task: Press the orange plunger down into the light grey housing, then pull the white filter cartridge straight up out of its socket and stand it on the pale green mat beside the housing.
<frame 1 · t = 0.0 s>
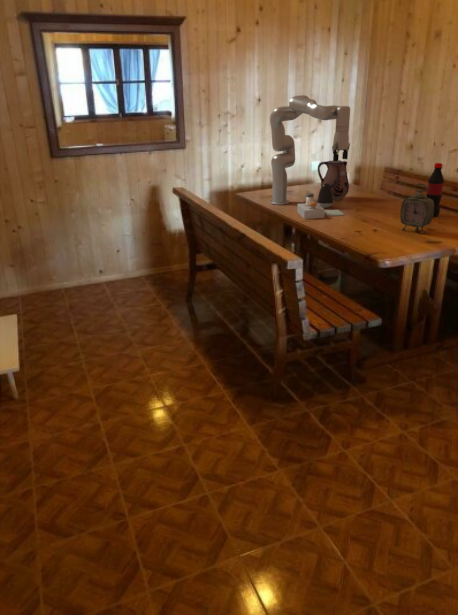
hand: (340, 160, 295), 31 cm above the table, tool pointing down, fingers open, 9 cm apart
mat: (333, 213, 306), on the table
cola bottle: (431, 216, 295), on the table
cartridge: (309, 213, 308), resting in housing
ceramic pitcher: (332, 199, 343), on the table
housing: (310, 214, 305), on the table
plunger: (312, 207, 298), point 6 cm above the table, slide at 0.0 cm
pump dispenser: (325, 207, 322), on the table
tabletop clock: (415, 231, 267), on the table
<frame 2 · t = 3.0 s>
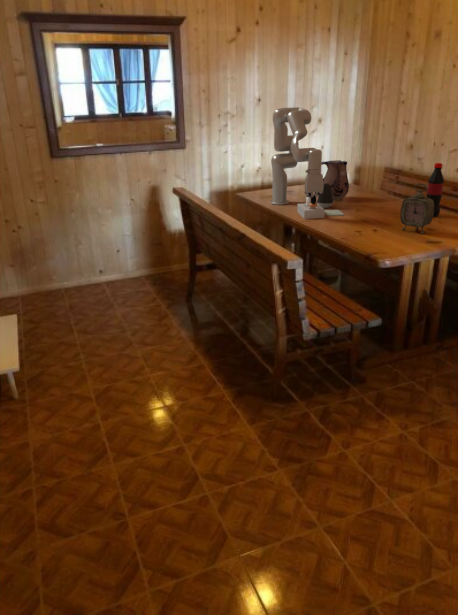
hand: (313, 203, 297), 8 cm above the table, tool pointing down, fingers closed
plunger: (312, 208, 299), point 5 cm above the table, slide at 0.6 cm, touching gripper
everything else where it was.
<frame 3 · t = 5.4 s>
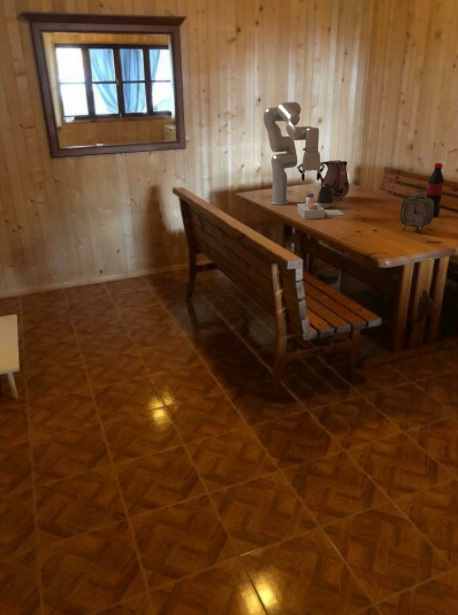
hand: (310, 180, 300), 20 cm above the table, tool pointing down, fingers open, 8 cm apart
plunger: (312, 210, 299), point 4 cm above the table, slide at 1.7 cm
everything else where it was.
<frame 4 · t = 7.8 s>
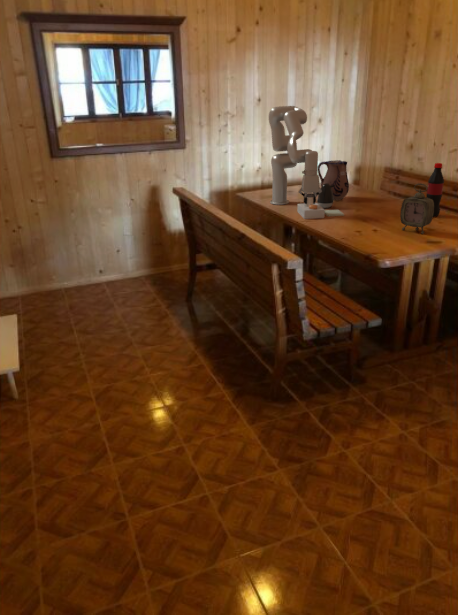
hand: (309, 203, 305), 6 cm above the table, tool pointing down, fingers closed on cartridge, 4 cm apart
cartridge: (309, 213, 308), resting in housing, touching gripper
everything else where it was.
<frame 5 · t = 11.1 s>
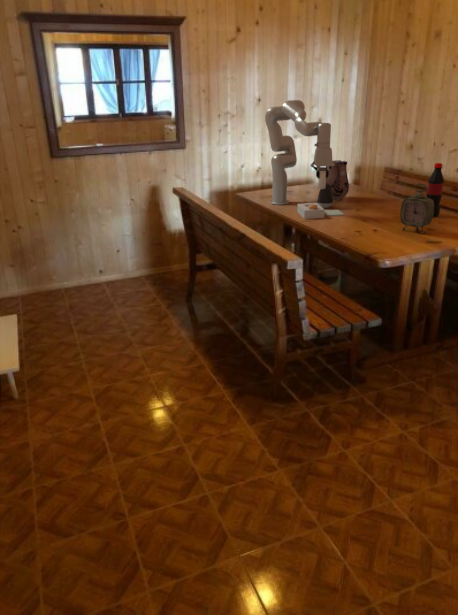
hand: (322, 177, 298), 22 cm above the table, tool pointing down, fingers closed on cartridge, 4 cm apart
cartridge: (321, 188, 300), point 15 cm above the table, touching gripper
everything else where it was.
when the fingers open (8 cm above the table, at t = 14.4 s): cartridge stays where it is, resting on mat.
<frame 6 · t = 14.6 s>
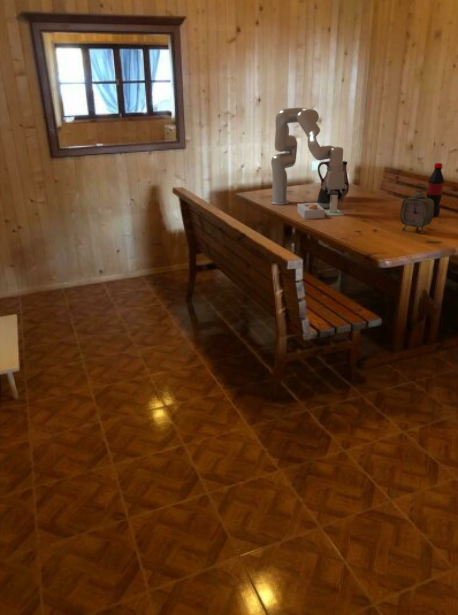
hand: (333, 199, 303), 9 cm above the table, tool pointing down, fingers open, 6 cm apart
cartridge: (333, 212, 306), point 1 cm above the table, touching mat
everything else where it was.
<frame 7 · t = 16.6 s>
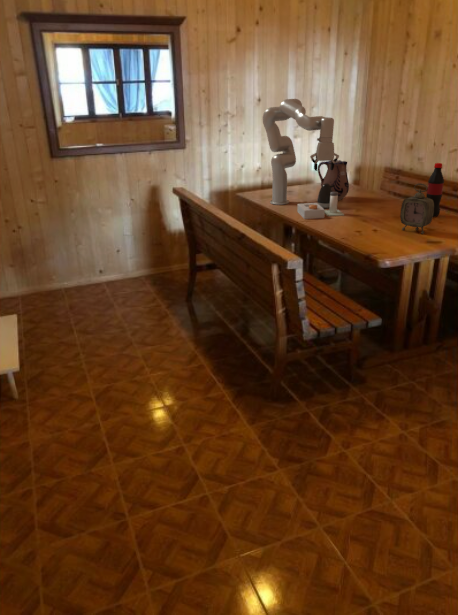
hand: (323, 170, 301), 25 cm above the table, tool pointing down, fingers open, 9 cm apart
nothing on the table moved.
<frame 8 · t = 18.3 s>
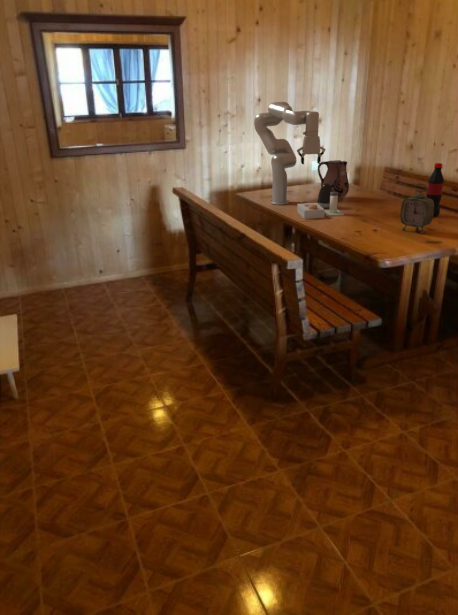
hand: (310, 163, 305), 28 cm above the table, tool pointing down, fingers open, 9 cm apart
nothing on the table moved.
at the end: plunger slide at 1.7 cm; cartridge inside the target area on the mat (0.0 cm from its centre), point 0.8 cm above the mat's base; cartridge tilted 0° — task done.
